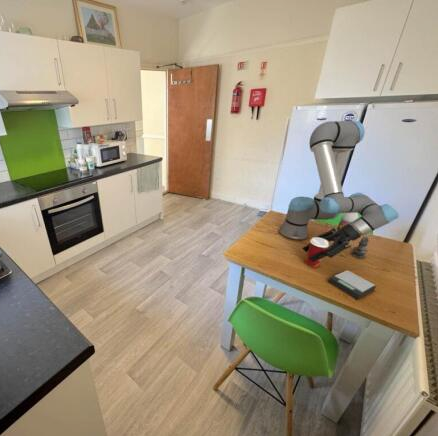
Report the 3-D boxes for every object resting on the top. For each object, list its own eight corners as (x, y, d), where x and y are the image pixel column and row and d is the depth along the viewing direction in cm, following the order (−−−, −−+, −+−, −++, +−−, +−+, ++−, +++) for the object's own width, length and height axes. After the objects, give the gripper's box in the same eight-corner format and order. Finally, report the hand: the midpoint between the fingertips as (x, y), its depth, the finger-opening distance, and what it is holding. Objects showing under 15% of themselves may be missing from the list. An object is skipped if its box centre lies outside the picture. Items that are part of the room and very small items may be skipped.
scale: (344, 274, 114) (346, 269, 113) (373, 290, 104) (376, 285, 103) (328, 281, 110) (330, 276, 109) (357, 299, 100) (360, 294, 99)
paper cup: (323, 269, 118) (332, 245, 111) (306, 267, 119) (314, 244, 113) (316, 259, 125) (325, 237, 118) (300, 258, 126) (308, 235, 119)
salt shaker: (363, 253, 128) (372, 234, 122) (366, 259, 123) (376, 240, 118) (349, 251, 130) (357, 232, 125) (352, 257, 125) (361, 237, 120)
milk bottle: (335, 230, 150) (346, 201, 140) (350, 233, 146) (363, 203, 136) (335, 235, 144) (347, 205, 135) (351, 239, 140) (364, 208, 131)
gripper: (374, 247, 102) (320, 273, 112) (347, 224, 119) (303, 248, 130) (364, 236, 100) (311, 262, 110) (339, 214, 118) (295, 239, 128)
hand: (307, 254), depth 120 cm, fingers closed on paper cup, 8 cm apart
